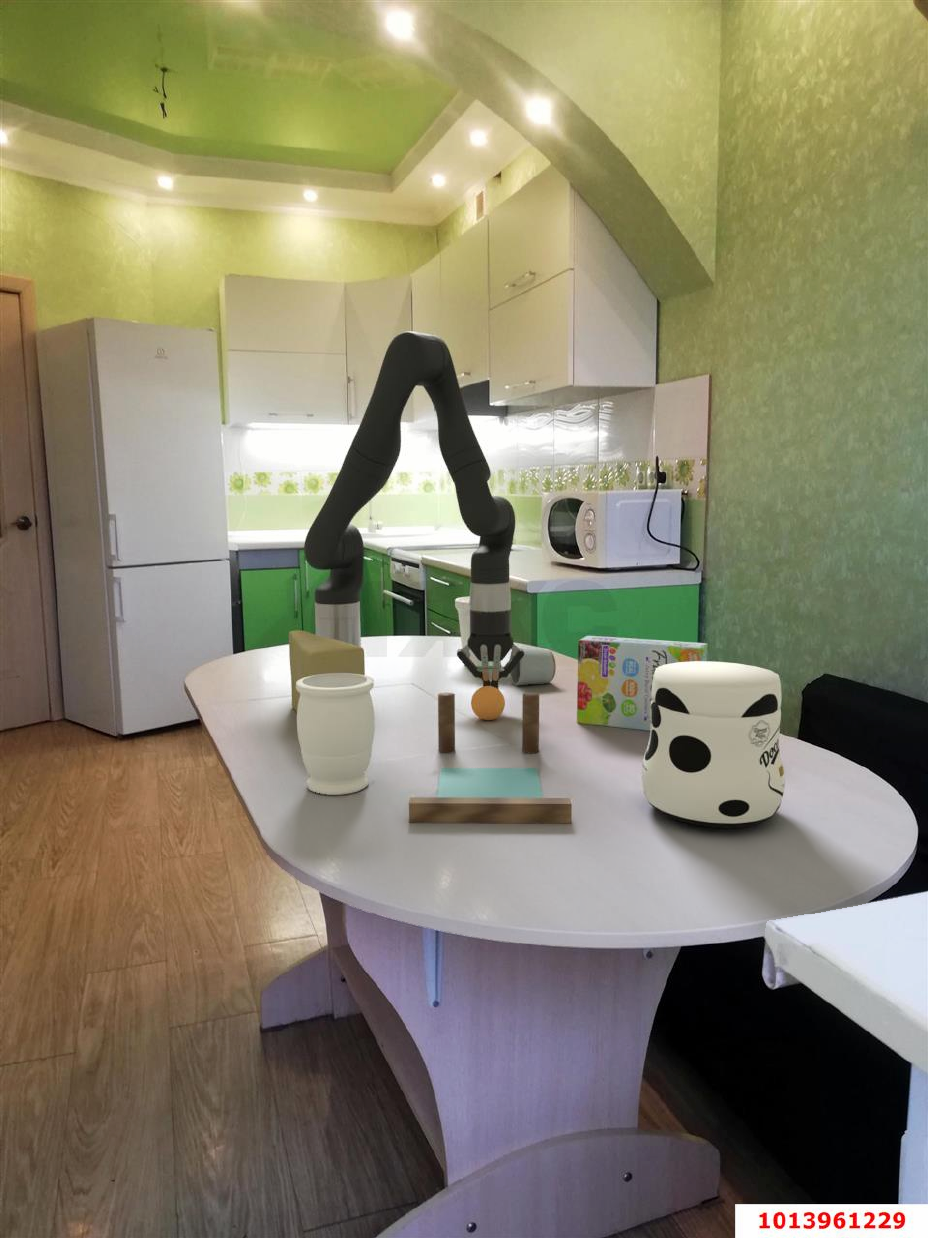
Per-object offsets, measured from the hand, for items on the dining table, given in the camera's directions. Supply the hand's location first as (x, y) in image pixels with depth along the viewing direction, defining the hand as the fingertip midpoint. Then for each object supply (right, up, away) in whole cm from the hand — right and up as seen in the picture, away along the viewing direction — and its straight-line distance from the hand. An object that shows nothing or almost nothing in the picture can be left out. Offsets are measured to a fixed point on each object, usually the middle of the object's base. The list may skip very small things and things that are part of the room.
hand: (490, 699), depth 160 cm
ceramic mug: (+9, +1, +21) cm, 23 cm away
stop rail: (-2, -10, -53) cm, 54 cm away
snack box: (+25, -4, -12) cm, 28 cm away
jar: (-22, -8, -40) cm, 47 cm away
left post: (-8, -6, -25) cm, 27 cm away
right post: (+5, -6, -25) cm, 26 cm away
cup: (-1, +4, +38) cm, 38 cm away
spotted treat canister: (+26, -10, -50) cm, 58 cm away
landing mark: (-1, -8, -41) cm, 42 cm away
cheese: (-31, -3, -7) cm, 32 cm away
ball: (-1, 0, -8) cm, 8 cm away
